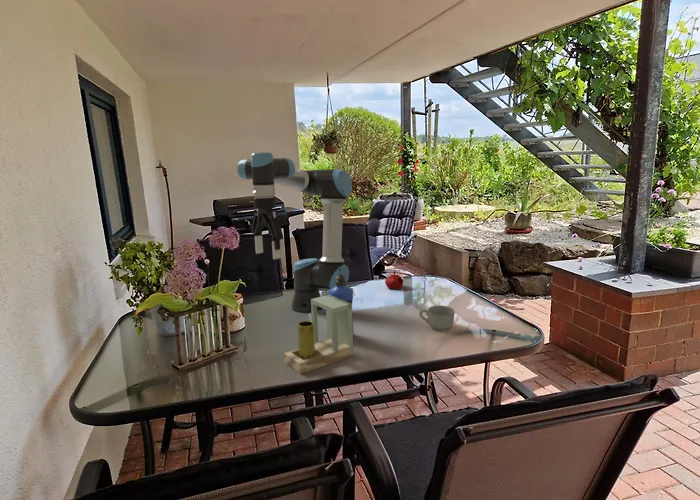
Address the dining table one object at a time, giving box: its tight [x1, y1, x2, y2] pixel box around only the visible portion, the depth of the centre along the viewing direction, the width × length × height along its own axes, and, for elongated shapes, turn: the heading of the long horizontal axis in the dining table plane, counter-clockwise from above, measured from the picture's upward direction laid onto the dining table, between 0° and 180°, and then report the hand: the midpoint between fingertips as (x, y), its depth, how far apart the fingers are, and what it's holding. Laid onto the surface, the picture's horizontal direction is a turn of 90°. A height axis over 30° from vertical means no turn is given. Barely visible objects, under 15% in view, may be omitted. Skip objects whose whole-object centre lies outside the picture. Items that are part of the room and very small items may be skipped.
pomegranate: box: [384, 270, 405, 290], centre depth 237 cm, size 10×10×9 cm
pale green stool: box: [310, 294, 354, 356], centre depth 158 cm, size 14×8×19 cm, turn 38°
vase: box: [297, 320, 316, 360], centre depth 150 cm, size 6×6×14 cm
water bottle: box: [328, 275, 355, 338], centre depth 171 cm, size 9×9×25 cm
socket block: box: [283, 338, 352, 375], centre depth 153 cm, size 11×20×4 cm, turn 128°
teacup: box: [418, 305, 455, 331], centre depth 179 cm, size 14×11×8 cm
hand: (267, 255), depth 159 cm, fingers open, 13 cm apart
